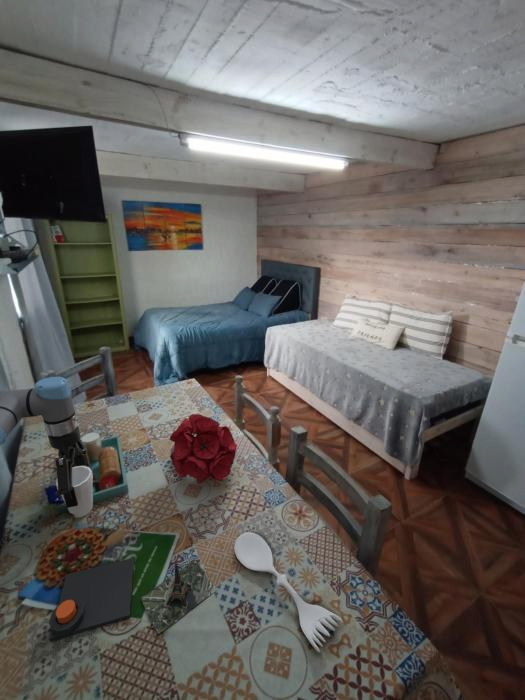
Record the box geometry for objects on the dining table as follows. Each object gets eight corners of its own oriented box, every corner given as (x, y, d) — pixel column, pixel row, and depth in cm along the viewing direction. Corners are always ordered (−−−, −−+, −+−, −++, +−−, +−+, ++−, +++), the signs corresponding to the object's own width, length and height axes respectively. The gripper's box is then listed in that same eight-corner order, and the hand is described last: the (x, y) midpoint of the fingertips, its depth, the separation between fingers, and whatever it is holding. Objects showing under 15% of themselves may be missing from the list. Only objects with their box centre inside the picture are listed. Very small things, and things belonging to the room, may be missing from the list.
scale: (48, 643, 67) (45, 635, 66) (66, 577, 80) (63, 569, 79) (130, 619, 72) (128, 611, 71) (134, 560, 85) (133, 552, 84)
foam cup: (87, 493, 105) (80, 461, 101) (104, 505, 101) (98, 473, 96) (58, 513, 98) (49, 480, 93) (75, 527, 93) (66, 493, 89)
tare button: (55, 626, 68) (53, 620, 67) (60, 608, 71) (58, 602, 71) (74, 620, 69) (72, 615, 68) (78, 603, 72) (76, 597, 72)
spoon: (317, 661, 66) (319, 652, 64) (227, 550, 88) (227, 541, 87) (343, 628, 71) (344, 619, 70) (252, 532, 94) (252, 523, 92)
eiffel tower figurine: (195, 559, 85) (193, 523, 80) (216, 590, 78) (215, 552, 73) (140, 599, 76) (134, 560, 71) (158, 638, 69) (152, 598, 64)
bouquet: (159, 493, 114) (208, 498, 94) (140, 431, 115) (183, 423, 95) (205, 466, 131) (255, 465, 111) (188, 411, 131) (234, 401, 111)
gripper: (66, 456, 79) (82, 518, 86) (87, 405, 101) (98, 459, 109) (31, 461, 77) (51, 525, 84) (60, 409, 99) (74, 463, 107)
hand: (77, 488), depth 97 cm, fingers open, 13 cm apart
